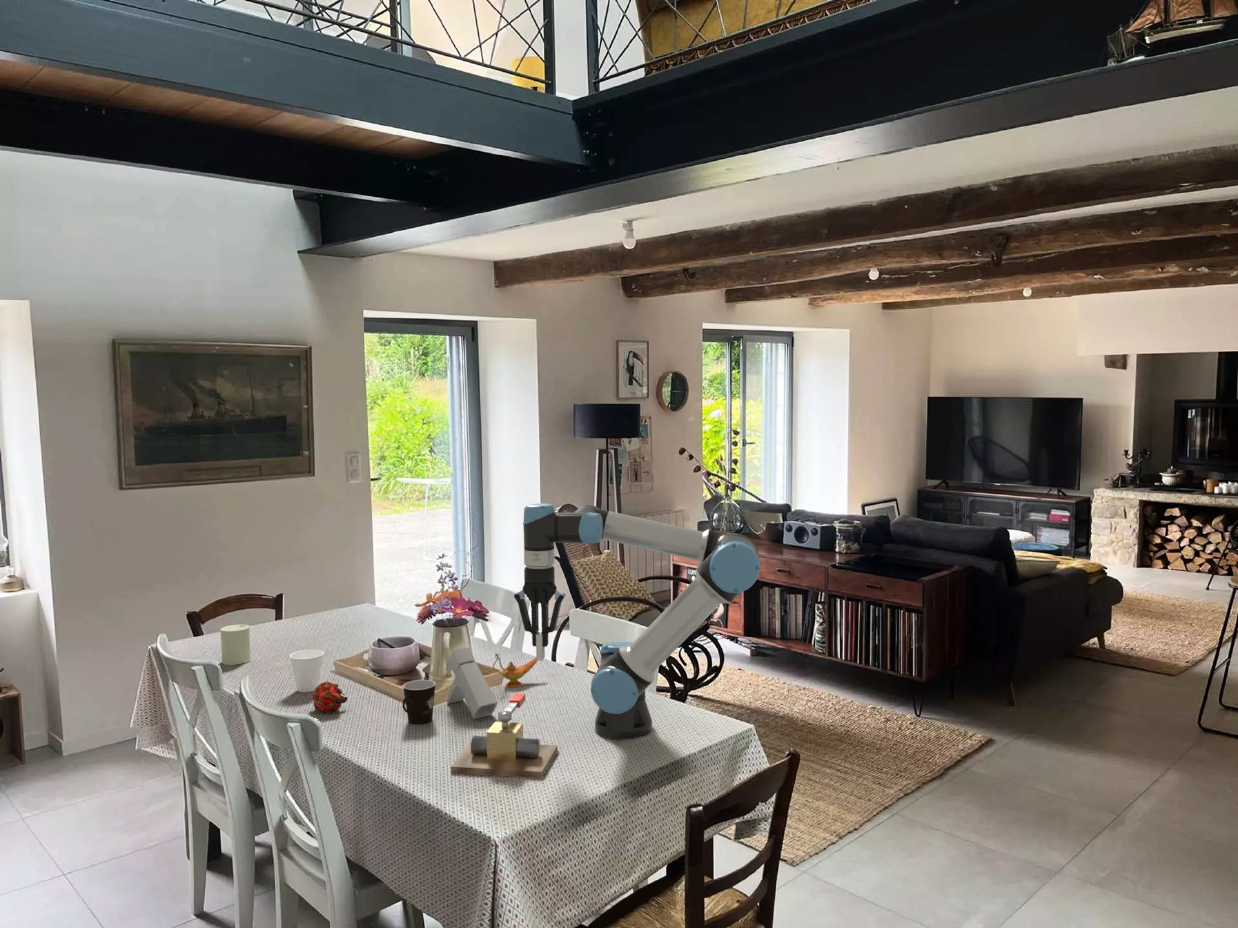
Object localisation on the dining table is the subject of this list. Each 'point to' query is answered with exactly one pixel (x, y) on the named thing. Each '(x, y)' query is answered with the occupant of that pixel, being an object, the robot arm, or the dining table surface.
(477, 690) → the grey a-frame
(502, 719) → the valve lever
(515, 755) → the ball valve
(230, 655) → the can
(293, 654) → the cup
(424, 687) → the coffee mug
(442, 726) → the dining table surface
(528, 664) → the magic lamp
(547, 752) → the valve board
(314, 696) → the dragon fruit
